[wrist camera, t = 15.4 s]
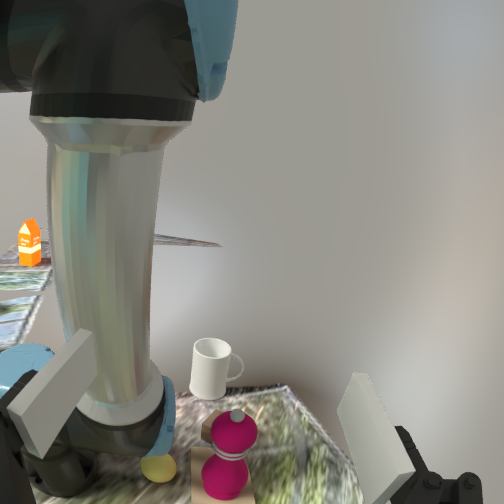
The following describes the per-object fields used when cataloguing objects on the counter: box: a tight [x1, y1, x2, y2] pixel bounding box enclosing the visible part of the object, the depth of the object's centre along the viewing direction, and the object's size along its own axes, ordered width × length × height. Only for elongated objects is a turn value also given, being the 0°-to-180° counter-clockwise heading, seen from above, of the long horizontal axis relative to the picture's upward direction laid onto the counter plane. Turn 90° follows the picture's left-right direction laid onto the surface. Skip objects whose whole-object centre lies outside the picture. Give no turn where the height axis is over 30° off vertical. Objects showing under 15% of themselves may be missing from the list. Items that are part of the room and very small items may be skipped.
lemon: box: [140, 453, 177, 483], centre depth 37 cm, size 6×6×6 cm
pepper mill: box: [201, 409, 257, 501], centre depth 35 cm, size 7×7×20 cm
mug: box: [189, 338, 244, 400], centre depth 62 cm, size 12×8×12 cm
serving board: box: [191, 446, 255, 504], centre depth 37 cm, size 18×10×1 cm, turn 8°
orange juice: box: [19, 218, 41, 267], centre depth 105 cm, size 8×9×20 cm
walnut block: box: [201, 409, 223, 444], centre depth 49 cm, size 5×5×5 cm
